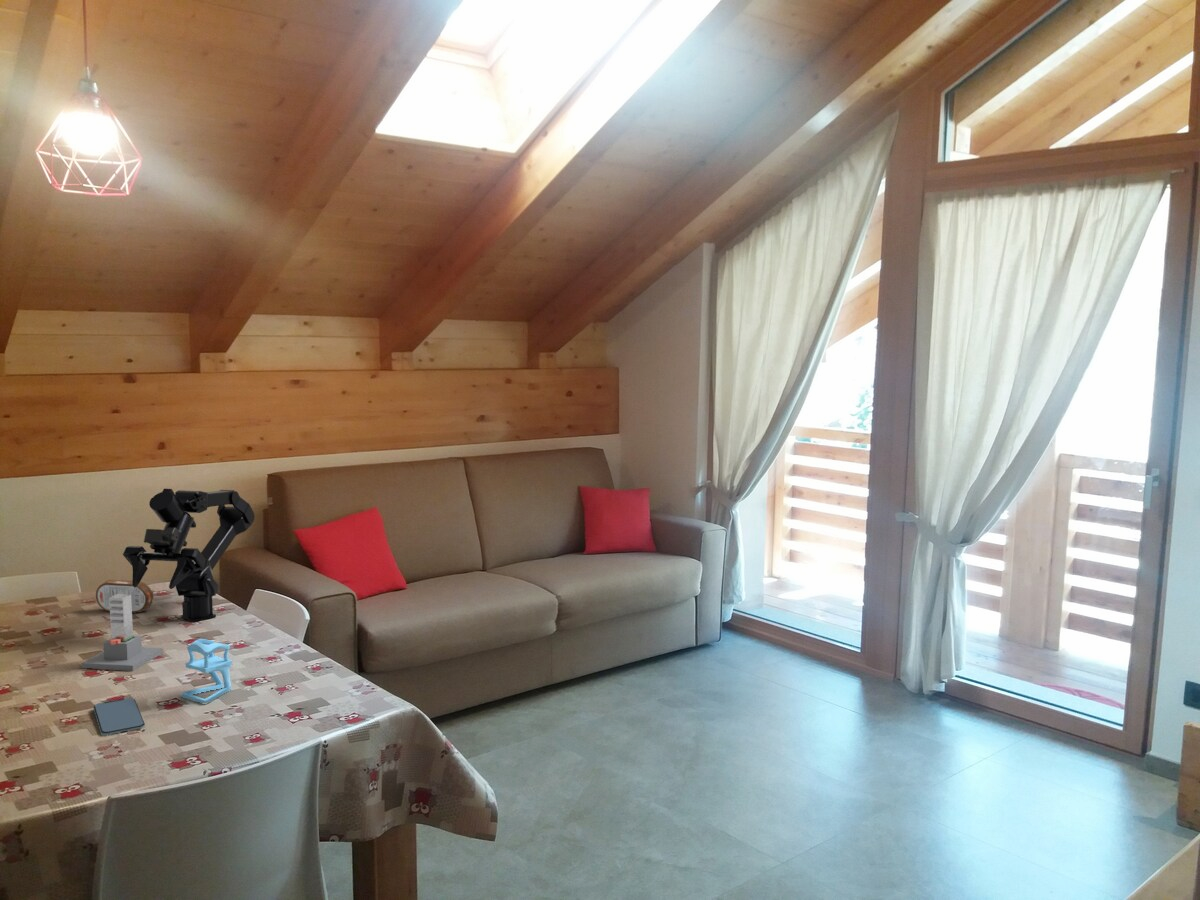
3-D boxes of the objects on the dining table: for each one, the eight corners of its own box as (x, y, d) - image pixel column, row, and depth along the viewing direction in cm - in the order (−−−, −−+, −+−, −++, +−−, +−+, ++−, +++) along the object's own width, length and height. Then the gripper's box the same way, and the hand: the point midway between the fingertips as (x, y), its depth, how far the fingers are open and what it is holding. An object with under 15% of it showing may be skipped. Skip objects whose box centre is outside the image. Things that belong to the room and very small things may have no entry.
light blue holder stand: (239, 692, 197) (237, 637, 195) (204, 705, 190) (203, 647, 188) (215, 685, 201) (213, 630, 199) (180, 697, 194) (178, 640, 192)
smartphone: (101, 733, 174) (92, 703, 186) (101, 741, 174) (92, 711, 187) (146, 724, 178) (134, 696, 190) (146, 732, 178) (134, 704, 191)
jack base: (114, 650, 221) (113, 626, 220) (162, 652, 220) (161, 628, 219) (81, 668, 209) (80, 643, 208) (132, 670, 208) (131, 645, 207)
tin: (154, 611, 253) (153, 580, 252) (147, 614, 250) (146, 583, 248) (101, 608, 254) (100, 578, 253) (94, 611, 251) (93, 581, 250)
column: (119, 637, 216) (117, 593, 214) (133, 638, 215) (131, 594, 214) (109, 643, 212) (107, 598, 211) (124, 643, 212) (121, 598, 210)
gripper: (125, 513, 230) (99, 568, 220) (198, 516, 228) (175, 571, 218) (145, 538, 238) (121, 592, 229) (215, 541, 237) (194, 595, 227)
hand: (152, 587), depth 226 cm, fingers open, 9 cm apart
